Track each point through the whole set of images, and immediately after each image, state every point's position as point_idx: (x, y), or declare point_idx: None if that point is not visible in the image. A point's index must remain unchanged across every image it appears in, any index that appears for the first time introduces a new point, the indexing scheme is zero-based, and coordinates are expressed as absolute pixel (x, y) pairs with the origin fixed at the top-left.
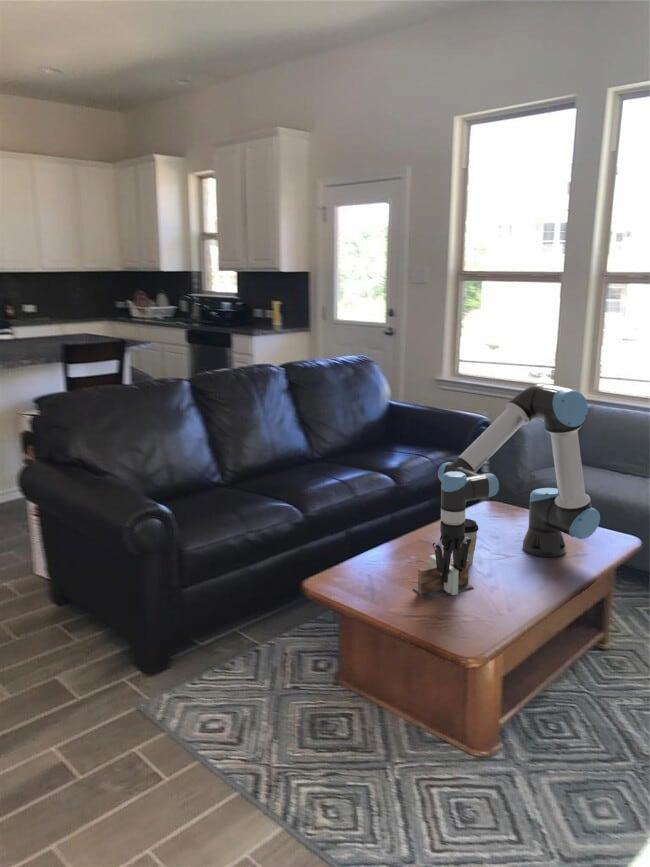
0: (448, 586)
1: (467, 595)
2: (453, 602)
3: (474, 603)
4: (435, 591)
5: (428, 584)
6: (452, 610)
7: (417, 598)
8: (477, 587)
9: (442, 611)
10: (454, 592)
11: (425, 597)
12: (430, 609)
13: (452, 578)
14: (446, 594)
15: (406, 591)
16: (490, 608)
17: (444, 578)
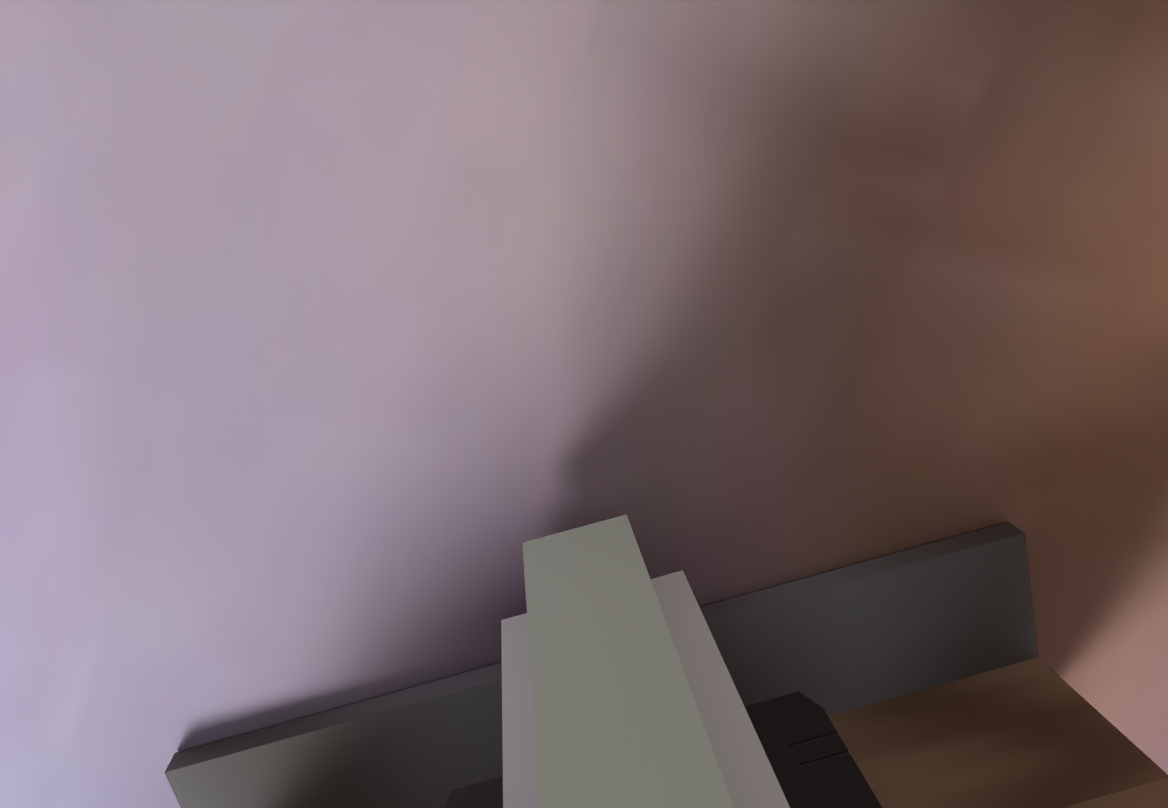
0: (711, 637)
1: (340, 560)
2: (642, 375)
3: (306, 278)
4: None
5: (991, 779)
6: (760, 109)
7: (1100, 579)
8: (98, 780)
9: (930, 111)
10: (594, 542)
11: (1024, 553)
12: (1077, 218)
13: (695, 713)
14: None
15: None
16: (59, 32)
17: (851, 762)
